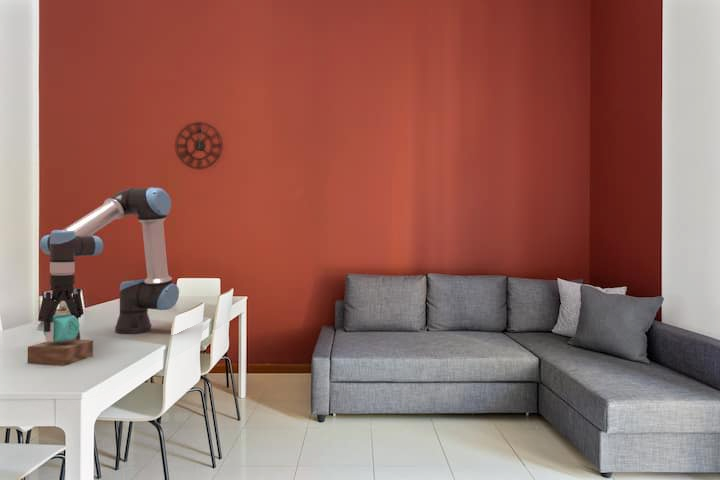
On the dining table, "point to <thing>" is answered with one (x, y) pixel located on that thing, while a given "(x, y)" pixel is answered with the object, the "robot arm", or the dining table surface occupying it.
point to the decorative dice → (64, 327)
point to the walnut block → (60, 352)
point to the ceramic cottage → (57, 313)
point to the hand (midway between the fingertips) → (61, 338)
